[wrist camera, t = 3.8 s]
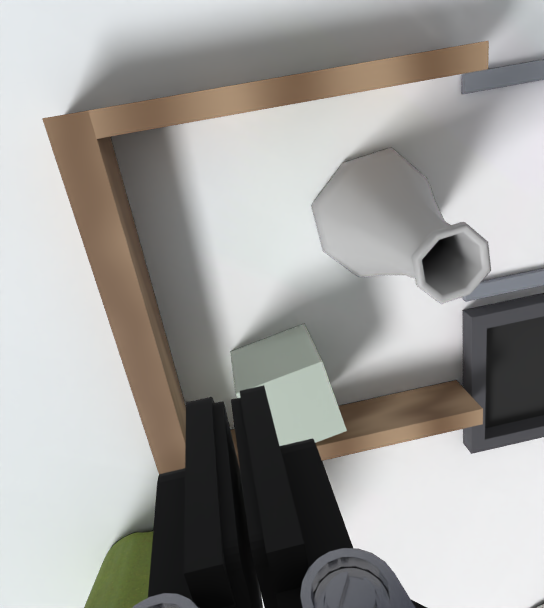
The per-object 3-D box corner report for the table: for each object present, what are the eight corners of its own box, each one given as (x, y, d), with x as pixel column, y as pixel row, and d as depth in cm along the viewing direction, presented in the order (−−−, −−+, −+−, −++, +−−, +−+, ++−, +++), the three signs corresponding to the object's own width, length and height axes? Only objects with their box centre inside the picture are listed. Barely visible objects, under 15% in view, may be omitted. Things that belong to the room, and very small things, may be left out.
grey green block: (304, 323, 31) (322, 361, 26) (326, 385, 33) (346, 430, 28) (230, 350, 31) (235, 394, 26) (257, 411, 33) (266, 461, 28)
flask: (451, 226, 30) (564, 281, 20) (352, 294, 30) (417, 376, 21) (395, 122, 27) (497, 131, 18) (288, 200, 28) (332, 248, 18)
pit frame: (618, 277, 32) (633, 283, 31) (600, 411, 37) (613, 420, 36) (462, 310, 32) (472, 317, 31) (463, 443, 36) (471, 453, 35)
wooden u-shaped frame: (452, 49, 26) (488, 40, 22) (456, 394, 34) (482, 424, 31) (62, 116, 24) (42, 118, 21) (169, 458, 33) (166, 496, 30)
